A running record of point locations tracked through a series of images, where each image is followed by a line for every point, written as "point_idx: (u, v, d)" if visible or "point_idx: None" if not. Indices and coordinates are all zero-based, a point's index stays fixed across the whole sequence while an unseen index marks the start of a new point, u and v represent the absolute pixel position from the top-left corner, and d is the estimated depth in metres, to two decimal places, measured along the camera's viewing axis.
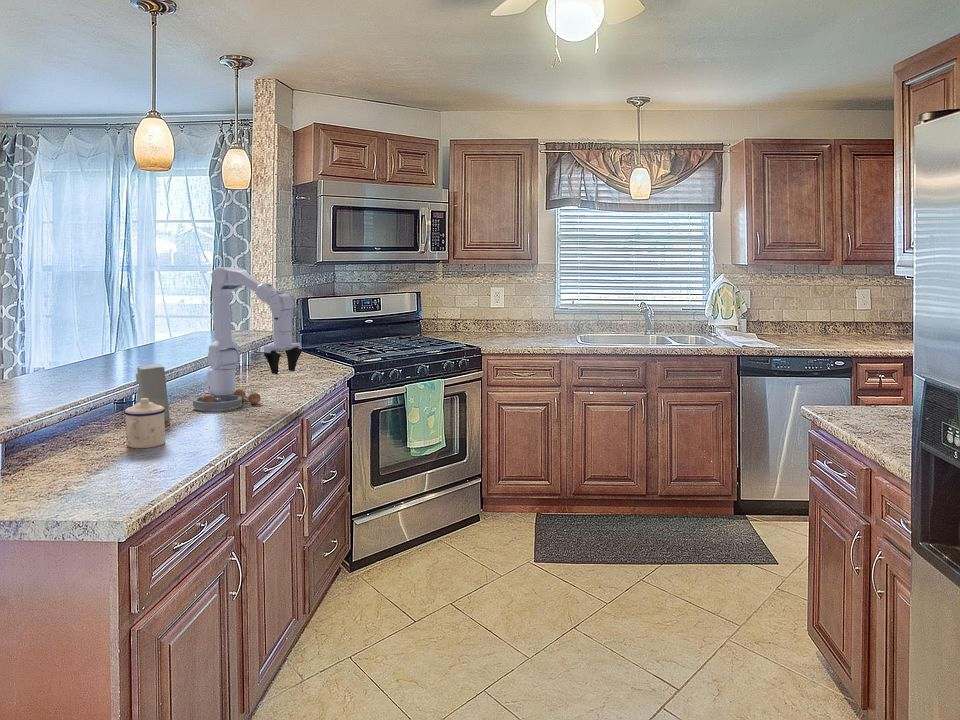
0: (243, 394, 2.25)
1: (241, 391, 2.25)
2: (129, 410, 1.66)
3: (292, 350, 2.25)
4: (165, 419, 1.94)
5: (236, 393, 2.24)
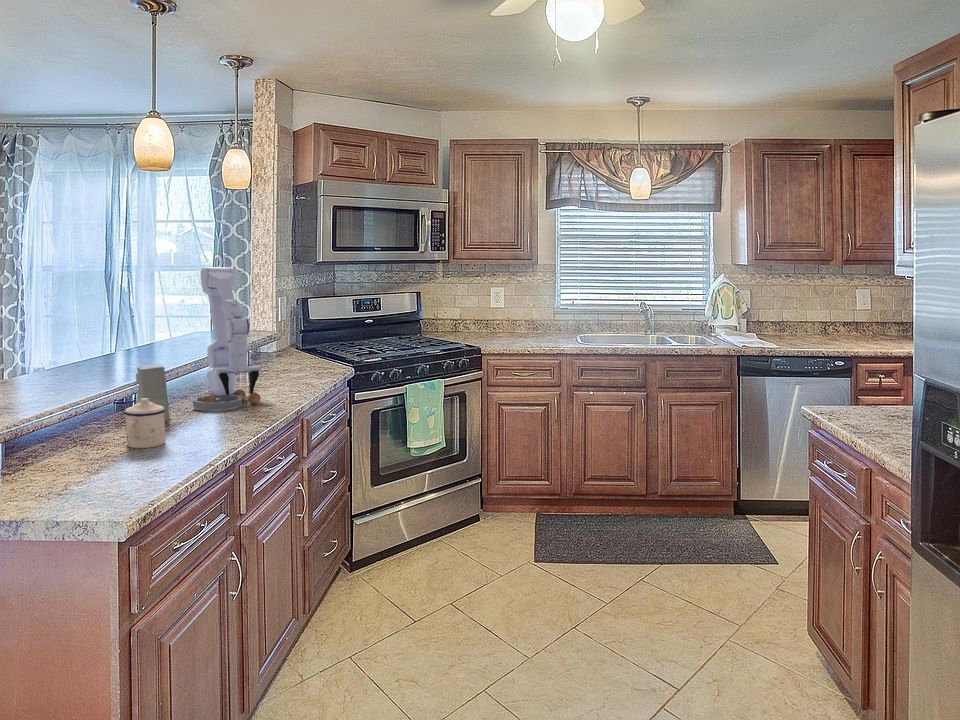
0: (243, 394, 2.25)
1: (241, 391, 2.25)
2: (129, 410, 1.66)
3: (250, 373, 2.26)
4: (165, 419, 1.94)
5: (236, 393, 2.24)
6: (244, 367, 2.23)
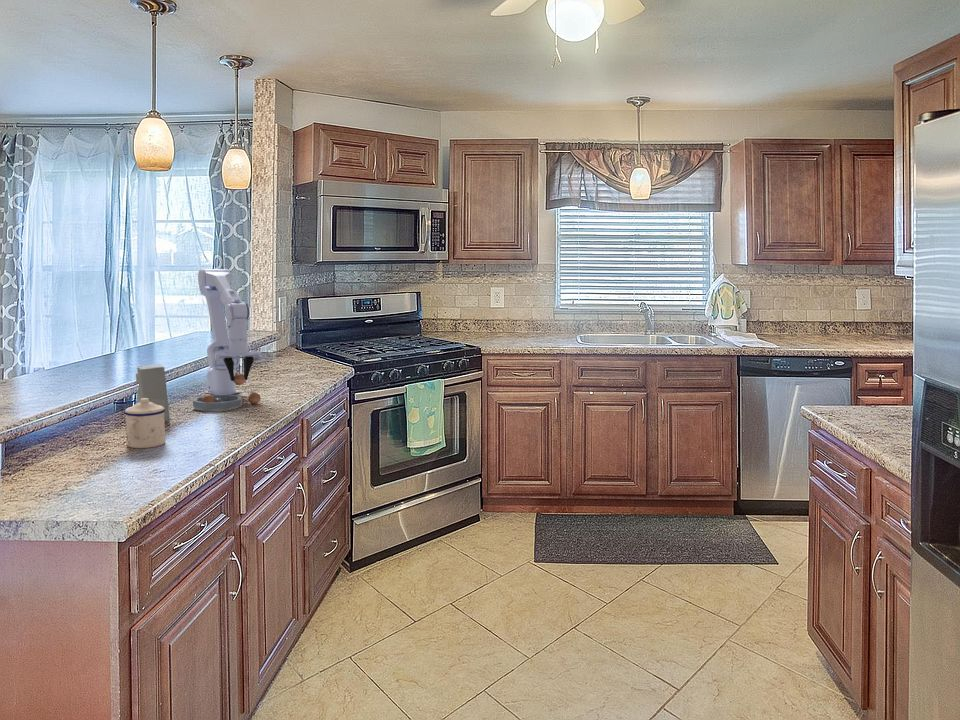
0: (243, 378, 2.24)
1: (241, 375, 2.24)
2: (129, 410, 1.66)
3: (245, 359, 2.25)
4: (165, 419, 1.94)
5: (236, 377, 2.23)
6: (244, 352, 2.22)
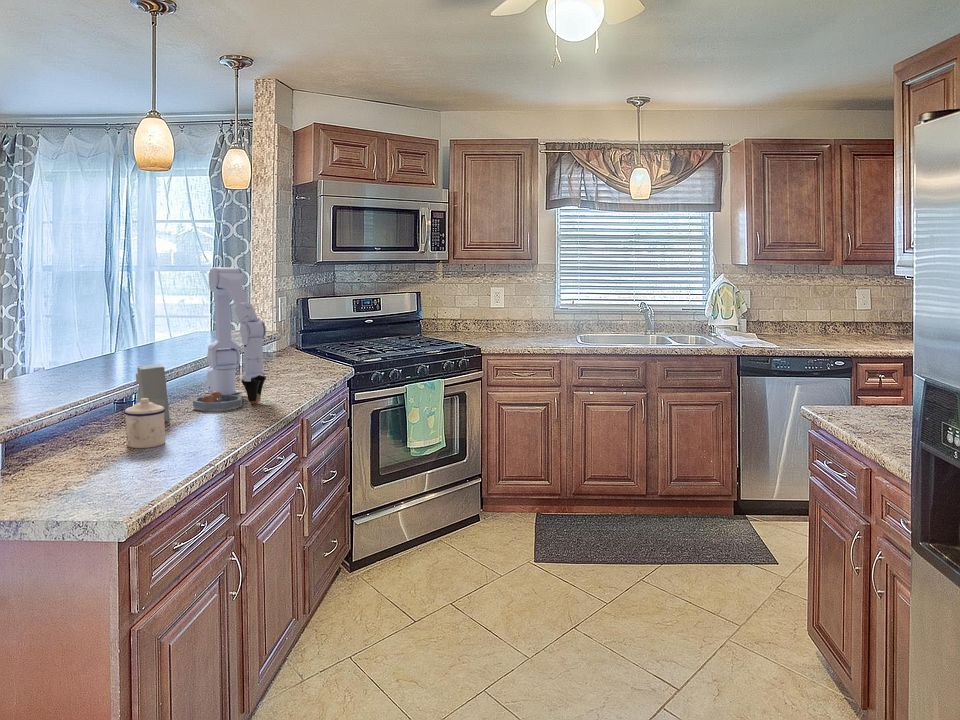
0: (219, 395, 2.17)
1: (217, 393, 2.17)
2: (129, 410, 1.66)
3: (257, 377, 2.22)
4: (165, 419, 1.94)
5: None
6: (263, 370, 2.21)
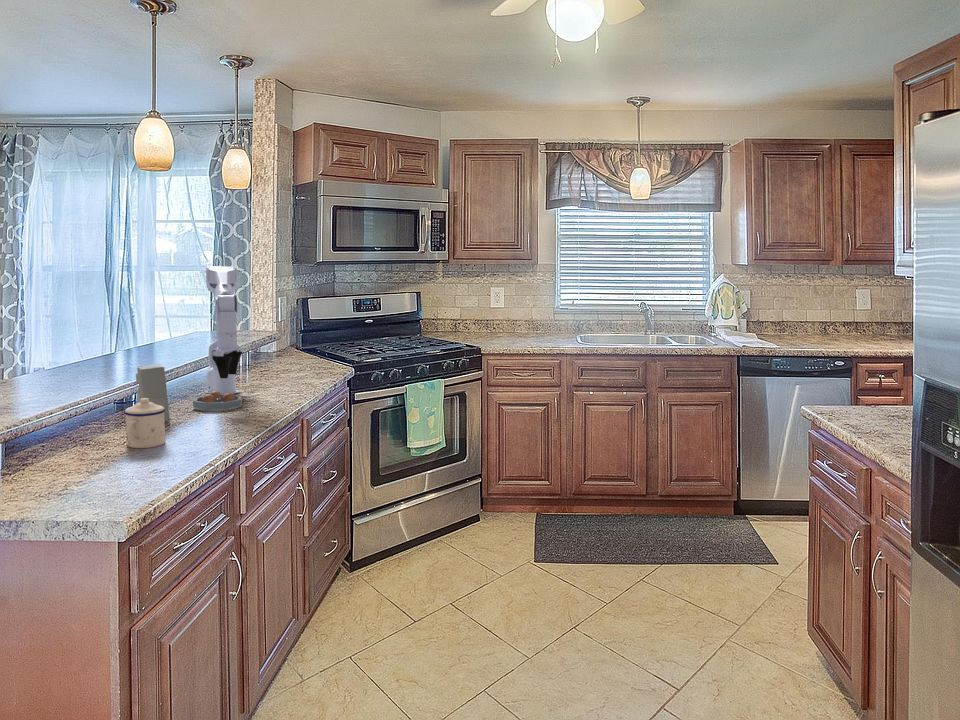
0: (218, 395, 2.17)
1: (216, 393, 2.17)
2: (129, 410, 1.66)
3: (233, 352, 2.17)
4: (165, 419, 1.94)
5: None
6: (237, 346, 2.15)
